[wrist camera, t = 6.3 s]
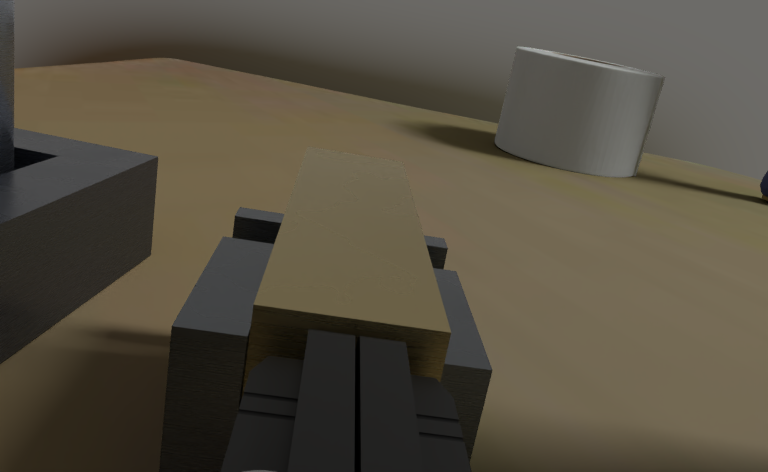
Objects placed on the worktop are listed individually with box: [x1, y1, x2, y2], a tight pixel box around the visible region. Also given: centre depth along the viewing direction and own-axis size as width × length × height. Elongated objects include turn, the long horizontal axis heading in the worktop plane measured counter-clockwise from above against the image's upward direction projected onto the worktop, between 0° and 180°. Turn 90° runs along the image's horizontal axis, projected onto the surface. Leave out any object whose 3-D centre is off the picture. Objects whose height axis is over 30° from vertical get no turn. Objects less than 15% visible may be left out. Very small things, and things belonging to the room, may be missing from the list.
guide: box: [159, 207, 492, 472], centre depth 20 cm, size 9×7×5 cm
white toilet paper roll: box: [495, 47, 665, 177], centre depth 75 cm, size 16×15×11 cm
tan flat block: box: [242, 147, 451, 396], centre depth 17 cm, size 12×3×8 cm, turn 2°
